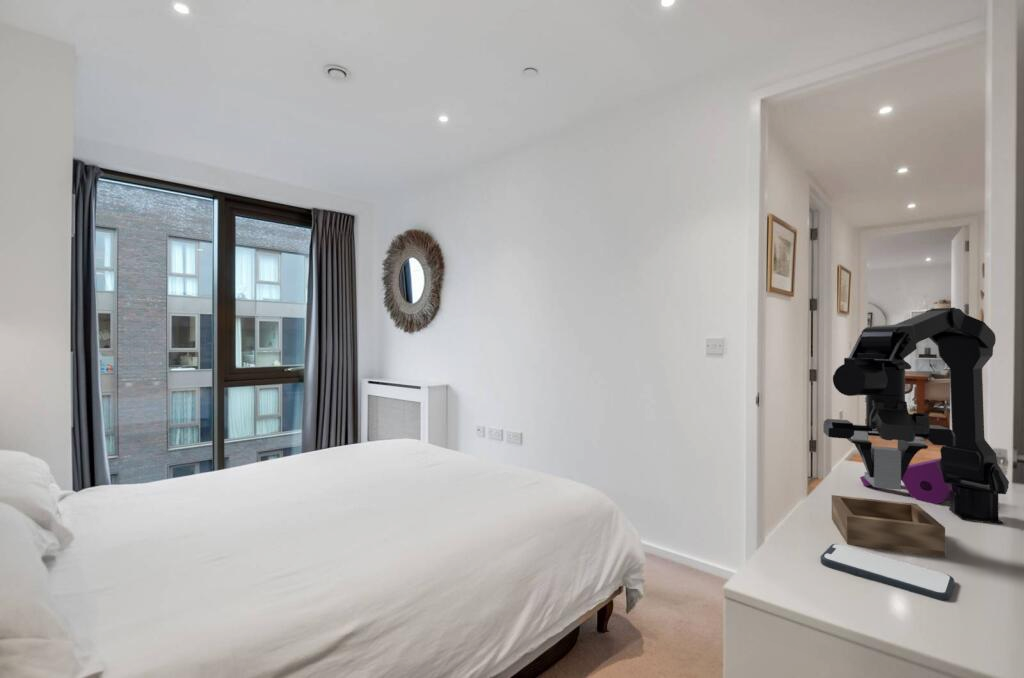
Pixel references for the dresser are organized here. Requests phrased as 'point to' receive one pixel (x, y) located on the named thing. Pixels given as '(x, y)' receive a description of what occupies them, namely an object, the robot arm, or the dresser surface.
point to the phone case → (889, 571)
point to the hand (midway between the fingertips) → (884, 478)
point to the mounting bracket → (925, 482)
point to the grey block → (885, 468)
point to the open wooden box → (888, 525)
